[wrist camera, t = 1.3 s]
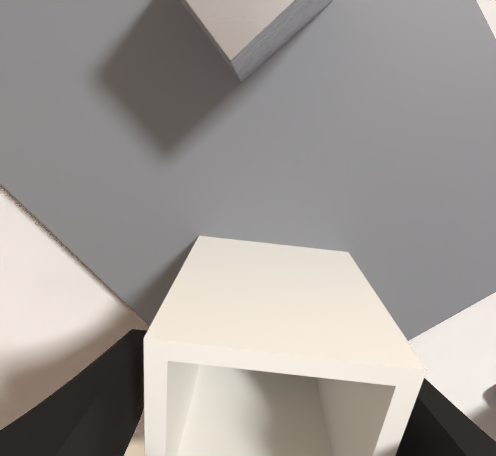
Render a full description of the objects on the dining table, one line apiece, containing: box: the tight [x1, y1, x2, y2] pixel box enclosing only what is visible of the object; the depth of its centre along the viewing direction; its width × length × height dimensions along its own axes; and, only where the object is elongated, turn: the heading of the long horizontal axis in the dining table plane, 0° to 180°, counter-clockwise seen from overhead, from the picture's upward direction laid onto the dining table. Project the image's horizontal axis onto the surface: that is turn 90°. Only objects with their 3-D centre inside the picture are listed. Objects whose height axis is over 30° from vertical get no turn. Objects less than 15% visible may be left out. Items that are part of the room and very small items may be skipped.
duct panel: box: [0, 0, 496, 341], centre depth 12 cm, size 20×16×1 cm
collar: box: [144, 236, 427, 456], centre depth 10 cm, size 6×6×6 cm
